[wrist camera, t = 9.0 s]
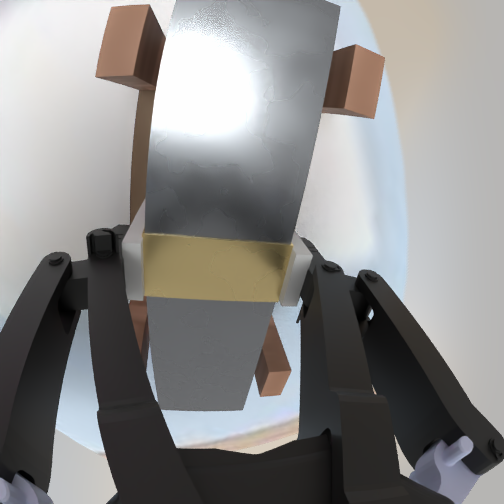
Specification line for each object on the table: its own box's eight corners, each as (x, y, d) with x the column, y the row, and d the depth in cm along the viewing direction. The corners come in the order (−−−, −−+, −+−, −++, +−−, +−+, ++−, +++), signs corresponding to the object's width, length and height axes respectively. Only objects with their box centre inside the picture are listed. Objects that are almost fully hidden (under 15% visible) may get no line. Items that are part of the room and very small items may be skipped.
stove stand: (138, 310, 24) (124, 397, 16) (152, 45, 14) (114, -4, 6) (254, 315, 26) (278, 398, 18) (307, 68, 16) (386, 48, 8)
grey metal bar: (233, 350, 23) (244, 411, 18) (161, 348, 22) (158, 410, 16) (294, 36, 12) (343, 6, 7) (187, 19, 11) (181, -28, 5)
